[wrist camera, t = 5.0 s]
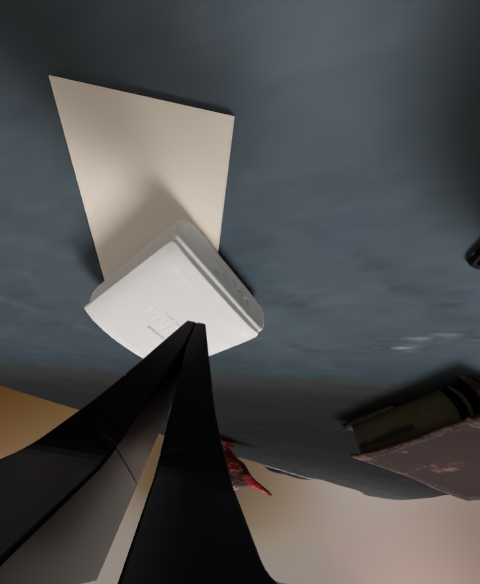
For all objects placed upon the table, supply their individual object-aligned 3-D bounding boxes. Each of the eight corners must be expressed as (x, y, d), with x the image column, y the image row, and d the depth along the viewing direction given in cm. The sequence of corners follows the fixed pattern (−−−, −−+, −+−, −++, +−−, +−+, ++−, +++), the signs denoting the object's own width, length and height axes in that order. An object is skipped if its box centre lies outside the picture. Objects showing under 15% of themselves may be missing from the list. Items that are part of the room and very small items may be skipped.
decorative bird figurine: (193, 427, 39) (174, 503, 31) (274, 452, 42) (277, 526, 34) (188, 432, 40) (169, 505, 32) (267, 456, 44) (267, 527, 36)
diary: (462, 366, 23) (505, 414, 19) (581, 432, 28) (635, 481, 24) (337, 423, 33) (347, 463, 29) (442, 464, 38) (463, 502, 34)
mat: (234, 116, 11) (233, 116, 11) (210, 319, 21) (209, 321, 21) (54, 76, 11) (48, 74, 11) (112, 299, 21) (110, 302, 20)
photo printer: (266, 344, 15) (158, 382, 20) (266, 306, 19) (173, 347, 24) (166, 231, 11) (58, 316, 16) (189, 209, 14) (95, 285, 19)
